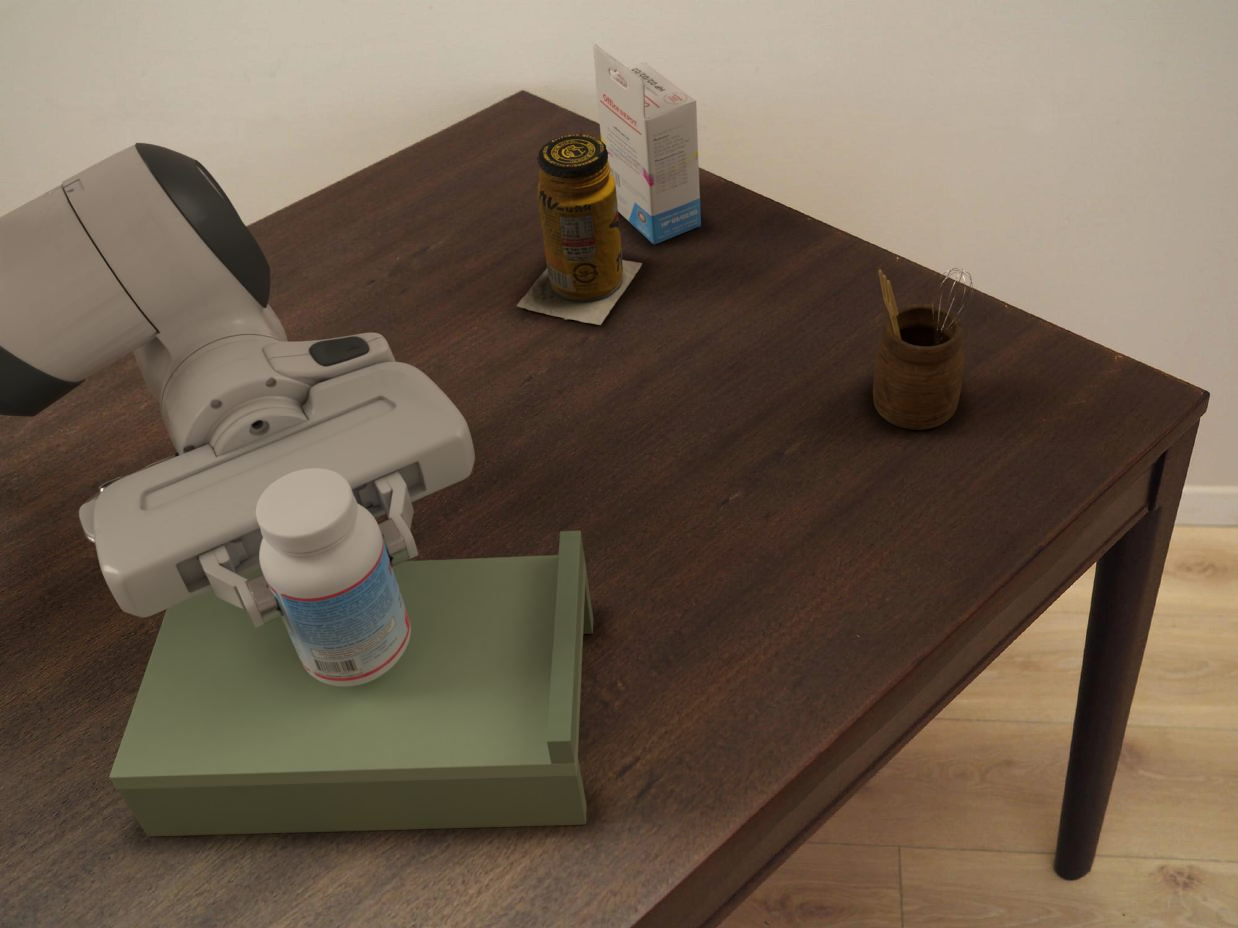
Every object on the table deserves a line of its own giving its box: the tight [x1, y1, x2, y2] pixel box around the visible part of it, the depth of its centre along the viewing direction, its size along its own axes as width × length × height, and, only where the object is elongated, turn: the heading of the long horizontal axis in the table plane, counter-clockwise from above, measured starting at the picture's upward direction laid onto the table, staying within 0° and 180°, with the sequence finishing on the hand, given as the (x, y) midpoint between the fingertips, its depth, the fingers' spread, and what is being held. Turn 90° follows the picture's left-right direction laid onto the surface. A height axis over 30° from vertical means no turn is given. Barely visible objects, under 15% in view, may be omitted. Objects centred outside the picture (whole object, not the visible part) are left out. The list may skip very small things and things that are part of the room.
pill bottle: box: [256, 468, 411, 686], centre depth 65 cm, size 6×6×11 cm
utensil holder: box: [872, 267, 974, 431], centre depth 85 cm, size 6×6×12 cm
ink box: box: [592, 43, 702, 245], centre depth 104 cm, size 8×5×15 cm, turn 29°
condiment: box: [516, 133, 643, 326], centre depth 98 cm, size 7×8×12 cm
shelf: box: [109, 530, 594, 837], centre depth 71 cm, size 24×14×8 cm, turn 89°
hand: (336, 583), depth 64 cm, fingers closed on pill bottle, 6 cm apart
